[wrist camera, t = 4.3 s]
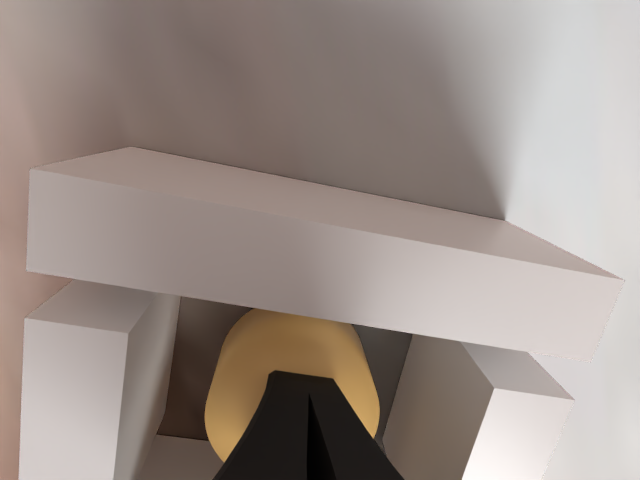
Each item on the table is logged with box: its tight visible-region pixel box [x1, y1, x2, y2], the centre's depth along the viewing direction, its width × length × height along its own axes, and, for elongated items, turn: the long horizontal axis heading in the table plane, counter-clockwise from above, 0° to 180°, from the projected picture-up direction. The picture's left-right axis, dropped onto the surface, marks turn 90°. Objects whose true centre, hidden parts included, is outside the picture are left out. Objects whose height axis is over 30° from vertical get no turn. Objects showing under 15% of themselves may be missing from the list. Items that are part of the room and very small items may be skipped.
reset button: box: [205, 308, 380, 463], centre depth 10 cm, size 4×4×2 cm
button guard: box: [19, 146, 625, 480], centre depth 10 cm, size 9×9×4 cm
